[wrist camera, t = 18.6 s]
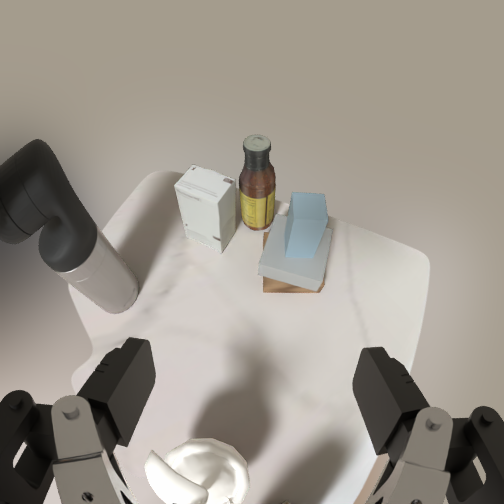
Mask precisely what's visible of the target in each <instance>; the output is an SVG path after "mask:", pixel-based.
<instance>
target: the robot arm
mask: <svg viewBox="0 0 504 504" xmlns="http://www.w3.org/2000/svg"><path fill="white" fill-rule="evenodd" d="M43 225H44V227H43V229H42V231H41V234H40V238H39V252H40V255H41V257H42V259H43V260H44V262H45V263H46V264H47V265H48V266H49V267H51V268H52V269H53V270H54V271H55V272H56V273H58V274H59V275H60V276H61V277H62V278H64V279H65V280H66V281H67V282H68V283H70V284H71V285H72V286H73V287H75V288H76V289H77V290H78V291H80V292H81V293H82V294H83V295H85V296H86V297H87V298H89V299H90V300H91V301H92V302H94V303H95V304H96V305H98V306H99V307H100V308H102V309H103V310H105V311H106V312H109V313H113V314H116V313H121V312H124V311H125V310H127V309H128V308H130V307H131V306H132V304H133V303H134V302H135V300H136V298H137V295H138V290H139V285H138V280H137V278H136V276H135V275H134V273H133V272H132V271H131V270H130V268H129V267H128V266H127V265H126V263H125V262H124V261H123V259H122V258H121V257H120V256H119V254H118V253H117V252H116V250H115V249H114V248H113V246H112V245H111V244H110V242H109V241H108V240H107V238H106V237H105V236H104V234H103V233H102V232H101V231H100V229H99V228H98V226H97V225H96V223H95V222H94V221H93V219H92V218H91V217H90V215H89V213H88V212H87V211H86V209H85V207H84V206H83V204H82V203H81V201H80V200H79V198H78V197H77V195H76V194H75V192H74V190H73V188H72V187H71V185H70V183H69V181H68V179H67V177H66V175H65V173H64V171H63V169H62V167H61V165H60V163H59V161H58V160H57V158H56V156H55V154H54V153H53V151H52V150H51V148H50V147H49V146H48V145H47V144H46V143H45V142H43V141H42V140H39V139H36V140H33V141H31V142H30V143H28V144H27V145H25V146H24V147H23V148H21V149H20V150H19V151H18V152H16V153H15V154H14V155H13V156H12V157H10V158H9V159H8V160H7V161H5V162H4V163H3V164H2V165H1V166H0V240H2V241H4V242H6V243H9V244H17V243H20V242H22V241H24V240H26V239H27V238H28V237H30V236H31V235H32V234H33V233H35V232H36V231H37V230H39V229H40V228H41V227H42V226H43ZM155 378H156V373H155V367H154V362H153V356H152V351H151V346H150V342H149V341H148V340H145V339H138V338H132V337H129V338H128V339H127V340H126V342H125V343H124V344H123V346H122V347H121V348H115V349H114V350H112V351H111V352H109V353H107V354H106V355H105V357H104V358H103V359H102V361H101V362H100V364H99V365H98V366H97V367H96V369H95V371H94V372H93V373H92V374H91V376H90V377H89V378H88V380H87V381H86V383H85V384H84V385H83V387H82V388H81V389H80V391H79V392H78V394H77V395H76V396H75V395H72V396H71V395H70V396H65V397H63V398H60V399H59V400H57V401H56V402H55V404H54V405H45V404H36V403H35V402H34V400H33V398H32V397H31V395H30V394H29V393H28V392H25V391H23V390H16V391H12V392H10V393H9V394H7V395H6V396H5V397H4V398H3V399H2V401H1V402H0V504H43V502H44V500H45V497H46V495H47V492H48V490H49V488H50V485H51V483H52V481H53V478H54V476H55V480H56V484H57V488H58V492H59V495H60V499H61V503H62V504H139V503H138V501H137V500H136V498H135V497H134V495H133V493H132V492H131V489H130V487H129V485H128V483H127V481H126V479H125V477H124V474H123V472H122V470H121V467H120V465H119V463H118V460H117V458H116V455H115V453H114V449H115V446H116V444H118V445H121V446H125V447H128V444H129V442H130V440H131V437H132V435H133V432H134V430H135V428H136V425H137V423H138V421H139V418H140V416H141V414H142V412H143V409H144V407H145V405H146V402H147V400H148V398H149V396H150V393H151V391H152V389H153V387H154V384H155ZM353 393H354V396H355V398H356V401H357V403H358V406H359V409H360V411H361V414H362V417H363V419H364V422H365V425H366V427H367V430H368V433H369V436H370V438H371V441H372V444H373V447H374V449H375V452H376V455H381V454H385V453H388V455H389V459H388V461H387V462H386V464H385V467H384V469H383V471H382V473H381V475H380V477H379V479H378V481H377V483H376V485H375V487H374V489H373V490H372V492H371V494H370V496H369V498H368V500H367V501H366V503H365V504H443V502H444V498H445V495H446V497H447V500H448V503H449V504H504V422H503V420H502V418H501V417H500V416H499V414H498V413H497V412H496V411H495V410H494V409H492V408H490V407H486V406H480V407H478V408H476V409H474V411H473V412H472V414H471V415H470V417H469V418H451V417H450V415H449V414H448V413H447V412H446V411H444V410H442V409H440V408H437V407H430V406H429V404H428V402H427V401H426V399H425V398H424V396H423V394H422V393H421V391H420V390H419V388H418V386H417V385H416V384H415V382H414V380H413V379H412V377H411V376H410V375H409V373H408V371H407V370H406V368H405V367H404V365H403V364H401V363H400V362H399V361H397V360H396V359H395V358H390V357H389V355H388V354H387V352H386V351H385V349H384V348H383V347H371V348H363V349H362V351H361V354H360V358H359V361H358V364H357V368H356V371H355V374H354V378H353ZM23 442H25V444H26V445H27V446H26V448H25V450H24V451H23V453H22V455H21V457H20V459H19V460H18V462H17V464H16V466H15V468H13V459H14V457H15V455H16V454H17V452H18V450H19V449H20V447H21V445H22V443H23ZM477 456H478V458H479V460H480V462H481V464H482V466H483V469H484V471H485V473H486V481H485V483H484V485H483V483H482V481H481V478H480V476H479V474H478V472H477V470H476V468H475V466H474V463H473V460H474V459H475V458H476V457H477ZM172 504H175V503H172Z"/></svg>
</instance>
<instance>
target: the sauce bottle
mask: <svg viewBox="0 0 504 504" xmlns="http://www.w3.org/2000/svg"><path fill="white" fill-rule="evenodd" d="M243 150H244V152H245V164H244V167H243V170H242V172H241V174H240V177H239V190H240V202H241V214H242V219H243V222H244V224H245V225H246V226H247V227H248V228H250V229H252V230H263V229H266V228H268V227H269V226H270V224H271V223H272V220H273V215H274V202H275V186H276V184H275V172H274V167H273V166H272V165H271V163H270V162H269V152H270V150H271V142H270V140H269V139H268V138H267V137H265V136H262V135H251V136H248V137H247V138H246V139H245V140H244V142H243Z"/></svg>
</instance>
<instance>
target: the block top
mask: <svg viewBox="0 0 504 504" xmlns="http://www.w3.org/2000/svg"><path fill="white" fill-rule="evenodd" d="M287 217H288V216H284V215H280V214H277V213H276V215H275V218H274V221H273V224H272V227H271V230H270V233H269V236H268V238H267V241H266V244H265V247H264V250H263V253H262V256H261V259H260V262H259V268H258V275H260V276H264V277H267V278H271V279H274V280H278V281H281V282H285V283H288V284H292V285H295V286H299V287H302V288H306V289H309V290H313V291H316V292H317V290H318V289H319V287H320V285H321V284H322V282H323V277H324V273H325V268H326V263H327V258H328V253H329V248H330V243H331V237H332V232H333V229H330V228H327V227H326V228H325V230H324V233H323V235H322V238H321V240H320V243H319V245H318V248H317V250H316V252H315V255H314V257H313V258H291V257H285V238H284V232H285V227H286V222H287Z"/></svg>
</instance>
